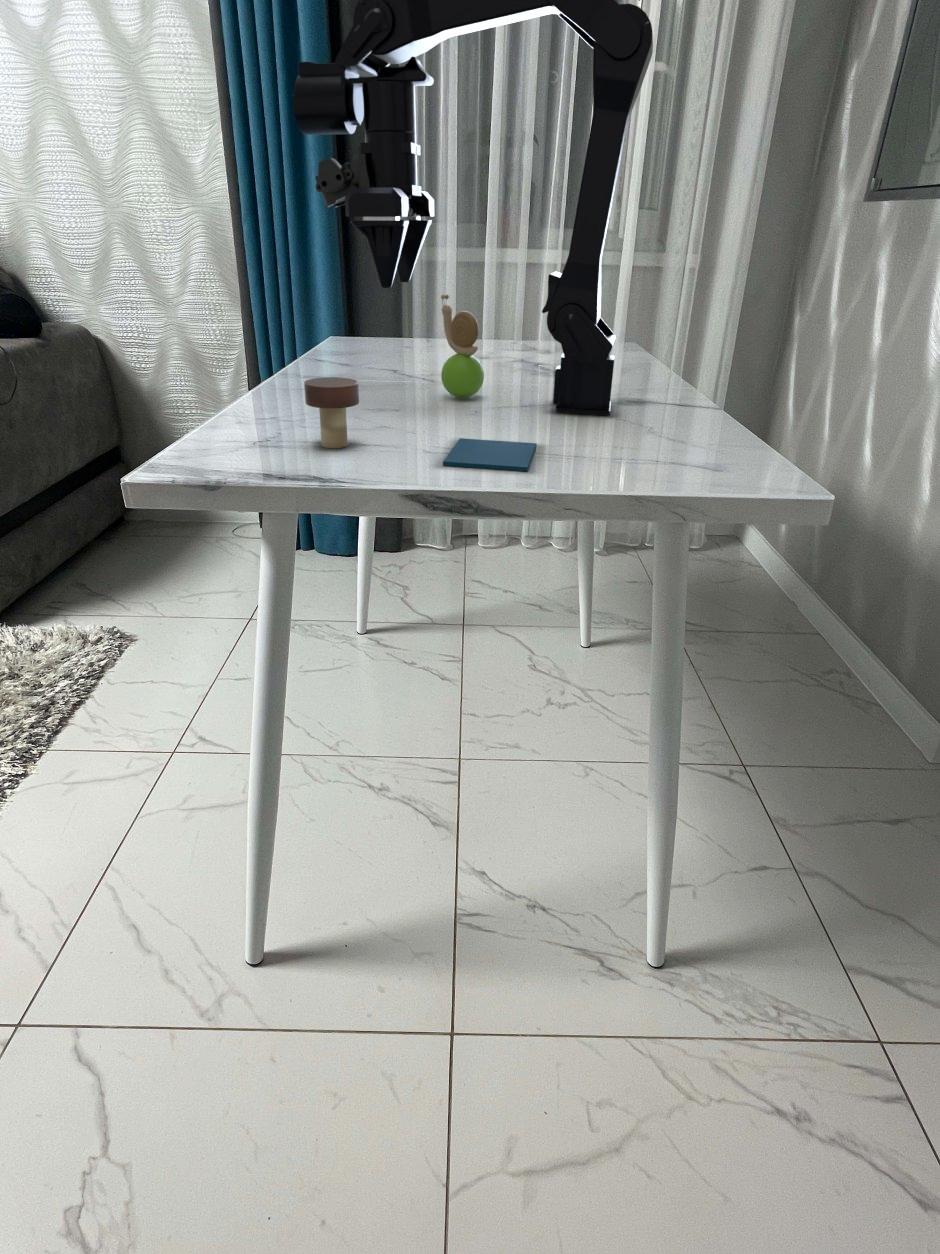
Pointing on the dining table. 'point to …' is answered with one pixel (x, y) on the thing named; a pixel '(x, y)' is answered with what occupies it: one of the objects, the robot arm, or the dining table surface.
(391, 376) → the dining table surface
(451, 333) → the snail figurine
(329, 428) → the mushroom
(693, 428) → the dining table surface
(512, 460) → the flat rectangular board
